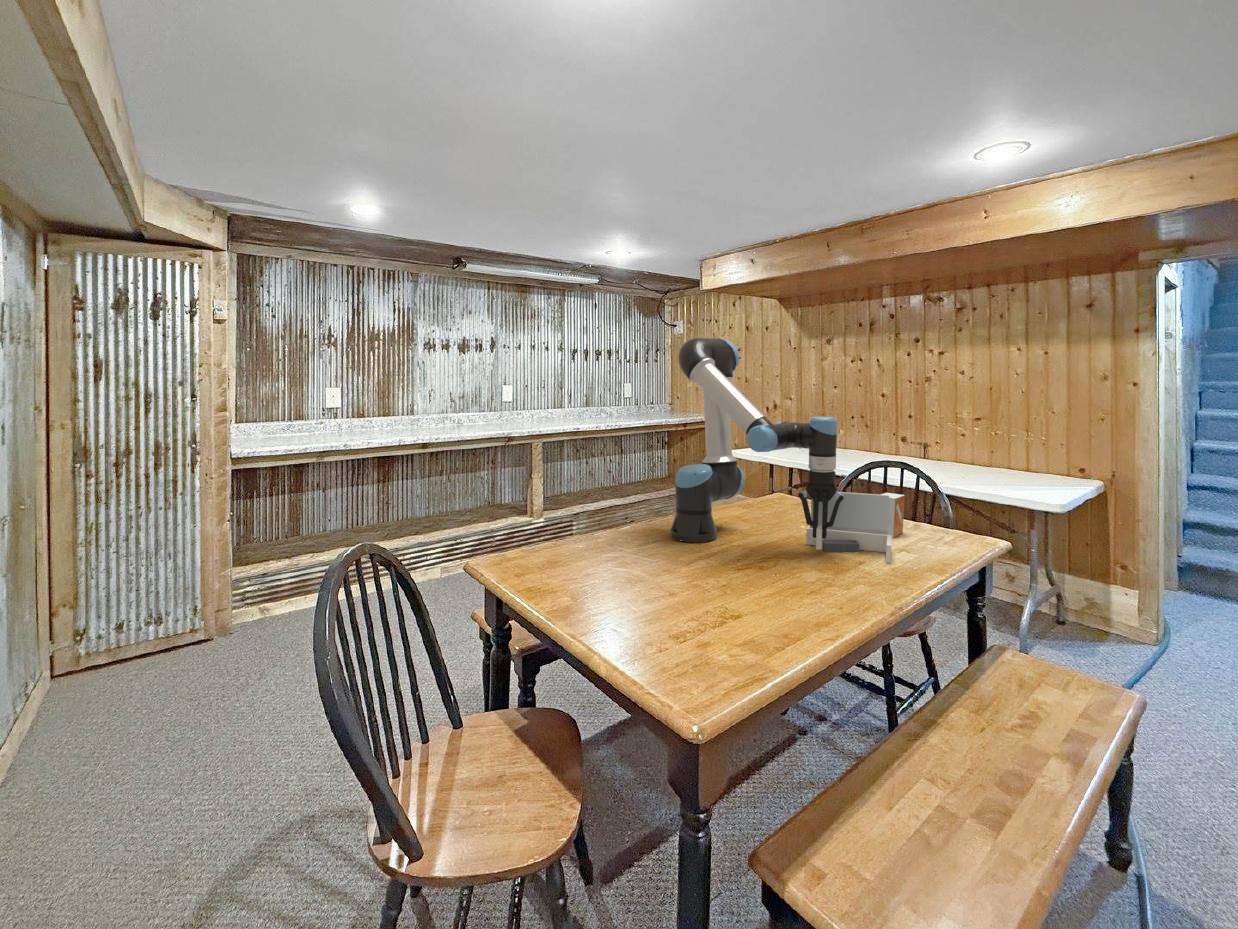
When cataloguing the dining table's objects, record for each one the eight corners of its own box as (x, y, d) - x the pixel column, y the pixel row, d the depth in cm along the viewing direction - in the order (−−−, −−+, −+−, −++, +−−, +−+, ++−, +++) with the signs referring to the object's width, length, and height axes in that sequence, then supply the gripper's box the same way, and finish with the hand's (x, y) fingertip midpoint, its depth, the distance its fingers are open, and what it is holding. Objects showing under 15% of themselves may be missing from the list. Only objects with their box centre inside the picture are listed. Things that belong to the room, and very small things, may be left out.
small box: (893, 538, 188) (895, 498, 186) (873, 534, 192) (875, 495, 190) (903, 533, 193) (905, 494, 191) (883, 530, 198) (885, 492, 196)
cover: (810, 491, 178) (811, 490, 179) (809, 528, 181) (810, 527, 182) (890, 496, 169) (890, 495, 170) (888, 535, 172) (888, 534, 173)
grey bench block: (800, 553, 173) (801, 537, 172) (807, 541, 186) (808, 525, 185) (890, 563, 163) (891, 545, 162) (891, 549, 176) (891, 533, 175)
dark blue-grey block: (823, 552, 174) (824, 543, 174) (821, 549, 178) (821, 539, 177) (858, 553, 173) (859, 544, 173) (855, 550, 176) (856, 540, 176)
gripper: (796, 470, 170) (794, 549, 173) (844, 473, 164) (841, 554, 168) (800, 467, 177) (798, 543, 180) (846, 469, 171) (843, 547, 174)
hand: (819, 548), depth 174 cm, fingers closed
